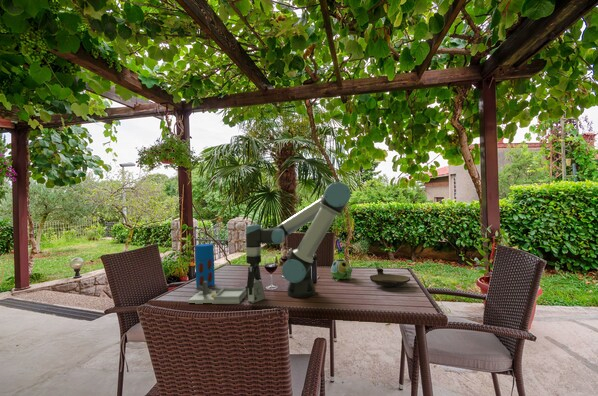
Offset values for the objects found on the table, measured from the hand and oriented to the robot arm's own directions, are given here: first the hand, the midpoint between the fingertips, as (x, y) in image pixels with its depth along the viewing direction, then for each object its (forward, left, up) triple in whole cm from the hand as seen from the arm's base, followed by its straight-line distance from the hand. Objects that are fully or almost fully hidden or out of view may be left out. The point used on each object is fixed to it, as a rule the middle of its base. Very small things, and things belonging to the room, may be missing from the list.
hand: (254, 296), depth 152 cm
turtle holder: (-47, -39, -2) cm, 61 cm away
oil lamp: (-74, -27, -2) cm, 78 cm away
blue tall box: (+37, -27, -2) cm, 46 cm away
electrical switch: (0, 0, -2) cm, 2 cm away
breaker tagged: (+26, 0, +1) cm, 26 cm away
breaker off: (+26, -6, +1) cm, 26 cm away
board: (+20, -3, -2) cm, 20 cm away
